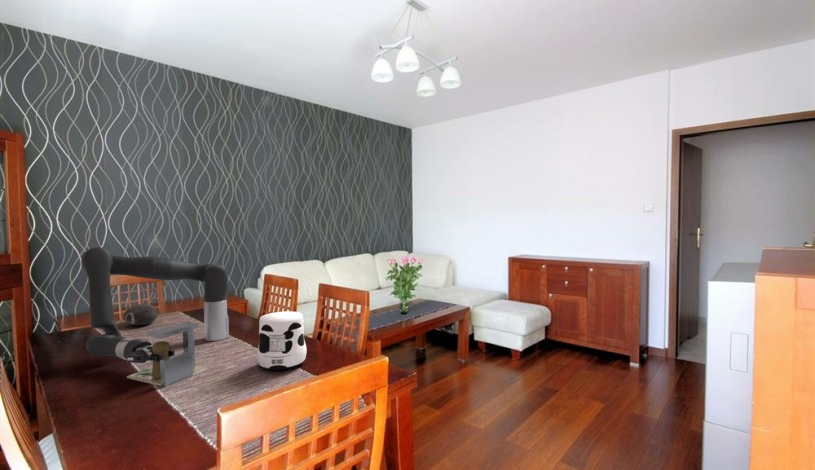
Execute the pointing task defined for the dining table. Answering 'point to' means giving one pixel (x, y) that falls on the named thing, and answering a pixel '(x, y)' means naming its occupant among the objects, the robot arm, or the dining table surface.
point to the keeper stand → (173, 357)
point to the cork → (162, 350)
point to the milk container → (281, 340)
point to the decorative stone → (140, 314)
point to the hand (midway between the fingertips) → (166, 356)
